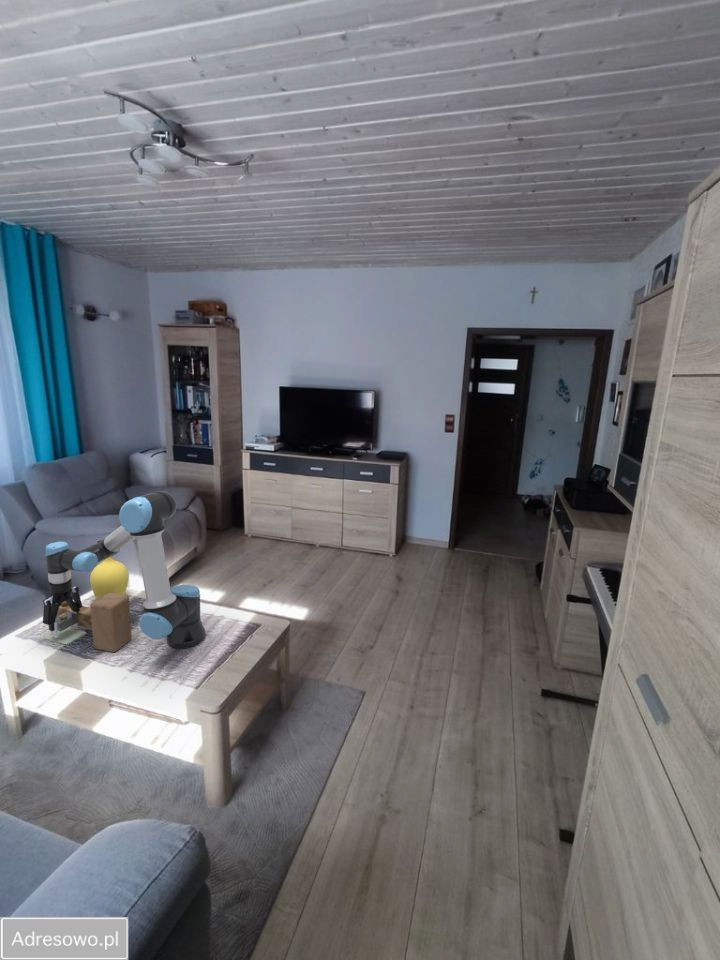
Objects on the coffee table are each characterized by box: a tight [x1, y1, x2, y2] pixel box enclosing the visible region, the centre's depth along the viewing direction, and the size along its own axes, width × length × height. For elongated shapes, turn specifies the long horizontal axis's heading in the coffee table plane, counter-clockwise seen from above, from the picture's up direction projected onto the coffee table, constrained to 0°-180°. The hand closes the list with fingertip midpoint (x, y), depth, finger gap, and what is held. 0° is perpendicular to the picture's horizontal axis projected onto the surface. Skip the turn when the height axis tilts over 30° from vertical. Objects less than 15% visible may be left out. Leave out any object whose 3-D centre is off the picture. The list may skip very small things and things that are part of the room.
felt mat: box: [43, 627, 88, 646], centre depth 177 cm, size 12×9×1 cm
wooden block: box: [89, 593, 132, 653], centre depth 172 cm, size 10×10×20 cm
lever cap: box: [55, 612, 79, 632], centre depth 176 cm, size 6×8×5 cm
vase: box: [89, 556, 130, 600], centre depth 205 cm, size 16×16×28 cm
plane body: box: [56, 599, 97, 632], centre depth 186 cm, size 26×5×13 cm, turn 73°
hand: (65, 631), depth 177 cm, fingers closed on lever cap, 8 cm apart
